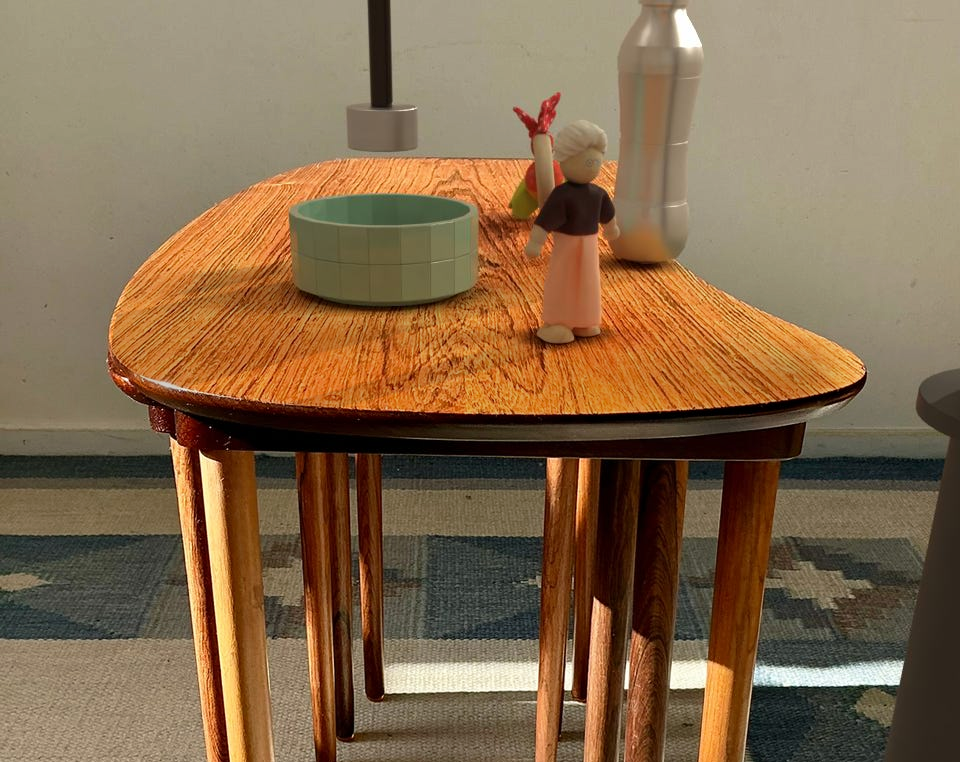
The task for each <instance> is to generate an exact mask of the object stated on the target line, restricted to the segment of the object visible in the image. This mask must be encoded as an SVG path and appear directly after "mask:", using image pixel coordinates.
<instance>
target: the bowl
mask: <svg viewBox="0 0 960 762" xmlns="http://www.w3.org/2000/svg"><path fill="white" fill-rule="evenodd" d="M479 221H480V212H479V209H478V206H476V205H475V204H473V203H470V202H468V201H466V200H463V199H462V200H461V199H457V198H453V197H448V196H439V195H432V194H424V193H423V194H422V193H421V194H420V193H405V192H404V193H403V192H398V193H397V192H367V193H349V194H347V193H346V194H337V195H329V196H320V197H316V198H312V199H308V200H303V201H300V202H298V203H295V204H294V205H291V206H290V208H289V210H288V226H289V240H290V241H289V242H290V254H291V255H290V257H291V272H292V283H293V284H294V286H295V287H297V288H298V289H299V290H300V291H302V292H306V293H309V294H312V295H315V296H316V297H319V298H321V299H324V300H326V301H330V302H334V303H339V304H345V305H352V306H363V307H366V306H367V307H405V306H416V305H423V304H424V305H425V304H430V303H431V304H432V303H436V302H439V301H443V300H447V299H449V298H452V297H453V296H456V295H457V294H460V293H463V292H466V291H468V290H471V289H472V288H473V287H474V286H476V284H478V282H479V238H480V237H479V236H480V235H479V231H480V228H479V227H480V223H479Z"/></svg>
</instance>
